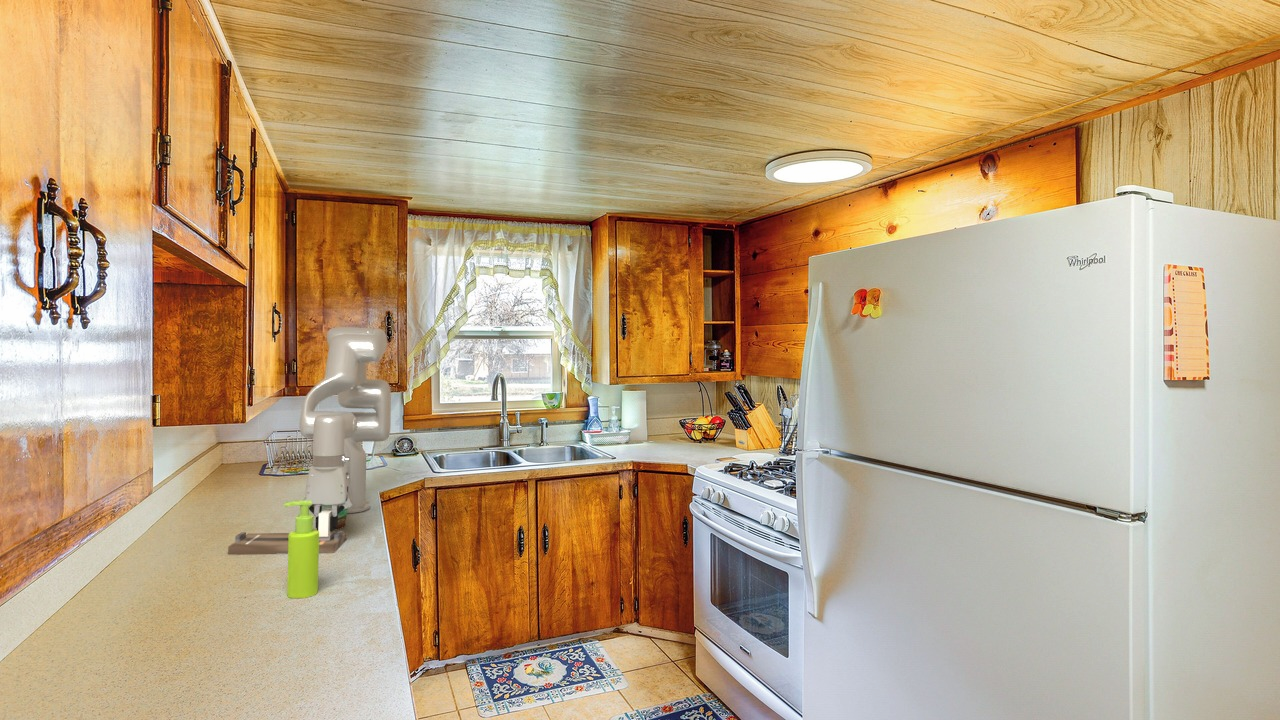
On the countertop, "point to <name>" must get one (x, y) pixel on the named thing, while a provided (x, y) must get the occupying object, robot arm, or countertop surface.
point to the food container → (340, 516)
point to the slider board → (277, 543)
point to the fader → (325, 525)
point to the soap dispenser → (303, 554)
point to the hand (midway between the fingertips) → (326, 529)
